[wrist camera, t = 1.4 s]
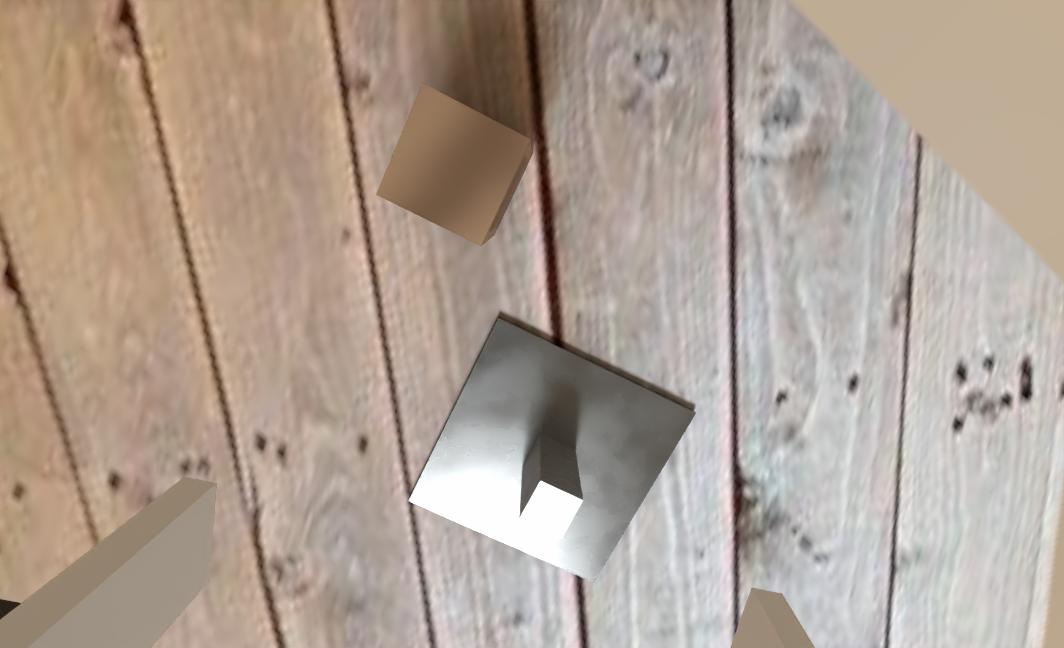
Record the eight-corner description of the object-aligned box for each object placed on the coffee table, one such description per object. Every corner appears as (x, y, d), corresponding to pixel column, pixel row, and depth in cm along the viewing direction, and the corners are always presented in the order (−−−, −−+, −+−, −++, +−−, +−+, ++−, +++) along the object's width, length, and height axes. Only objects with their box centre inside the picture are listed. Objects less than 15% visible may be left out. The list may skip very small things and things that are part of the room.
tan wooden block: (414, 195, 32) (376, 194, 24) (450, 112, 31) (422, 83, 23) (494, 235, 32) (480, 246, 25) (532, 154, 31) (530, 139, 23)
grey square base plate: (409, 497, 36) (383, 559, 30) (498, 316, 33) (489, 343, 27) (593, 578, 37) (604, 654, 31) (694, 410, 35) (728, 457, 28)
